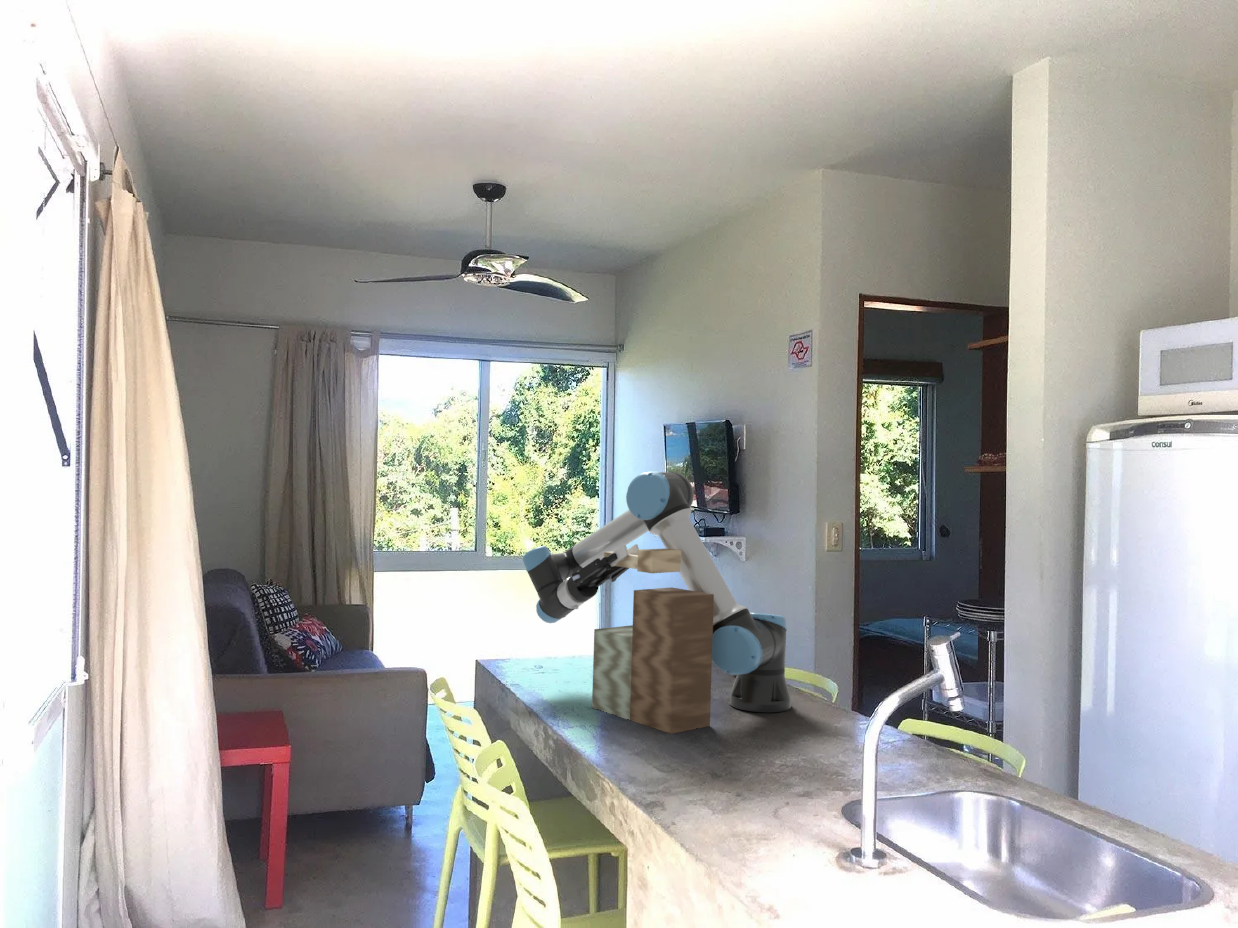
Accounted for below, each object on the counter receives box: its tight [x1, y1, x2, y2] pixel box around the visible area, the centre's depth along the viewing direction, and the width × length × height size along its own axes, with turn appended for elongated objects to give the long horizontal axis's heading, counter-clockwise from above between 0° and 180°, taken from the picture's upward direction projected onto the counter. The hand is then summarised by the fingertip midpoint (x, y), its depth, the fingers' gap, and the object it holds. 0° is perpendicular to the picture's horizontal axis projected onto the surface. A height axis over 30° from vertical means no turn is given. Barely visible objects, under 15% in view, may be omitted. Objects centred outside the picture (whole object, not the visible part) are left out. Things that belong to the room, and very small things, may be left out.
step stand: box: [591, 586, 714, 735], centre depth 235 cm, size 28×12×30 cm, turn 40°
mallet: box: [604, 548, 681, 574], centre depth 239 cm, size 21×9×5 cm, turn 40°
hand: (631, 549), depth 240 cm, fingers closed on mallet, 3 cm apart
